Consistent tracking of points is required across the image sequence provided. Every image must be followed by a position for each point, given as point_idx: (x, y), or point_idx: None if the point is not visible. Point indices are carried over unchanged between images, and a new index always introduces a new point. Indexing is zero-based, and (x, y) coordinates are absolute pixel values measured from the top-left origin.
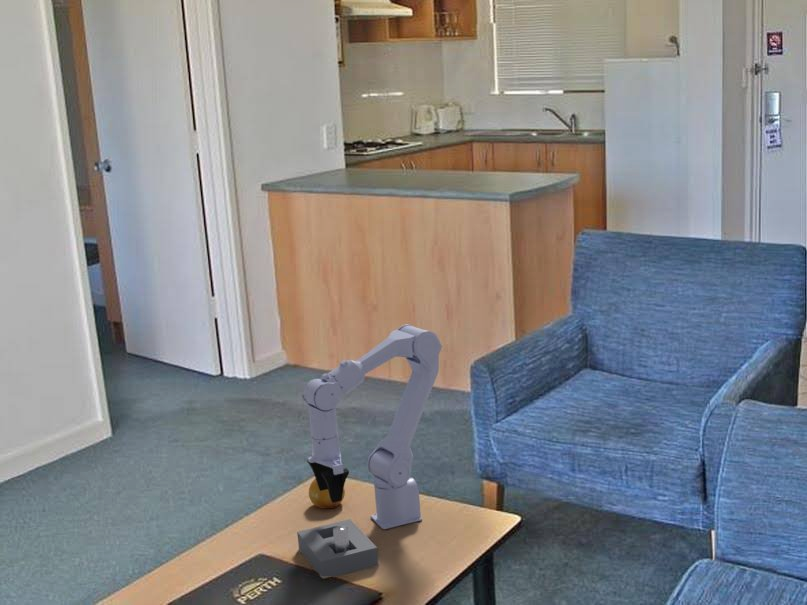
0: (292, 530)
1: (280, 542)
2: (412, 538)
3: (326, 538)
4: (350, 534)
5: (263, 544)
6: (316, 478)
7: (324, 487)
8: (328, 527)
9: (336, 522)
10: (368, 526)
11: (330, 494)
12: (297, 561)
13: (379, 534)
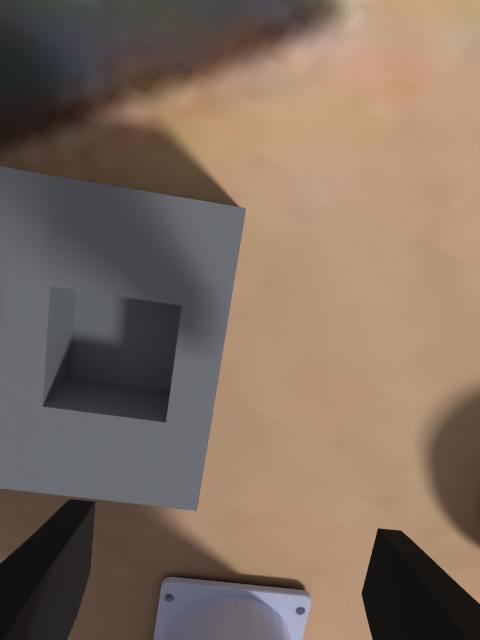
0: (450, 279)
1: (375, 169)
2: None
3: (42, 303)
4: (12, 429)
5: (420, 83)
6: (453, 614)
7: (376, 577)
8: (176, 379)
9: (206, 440)
10: (241, 546)
11: (19, 549)
12: (119, 137)
13: (141, 546)
